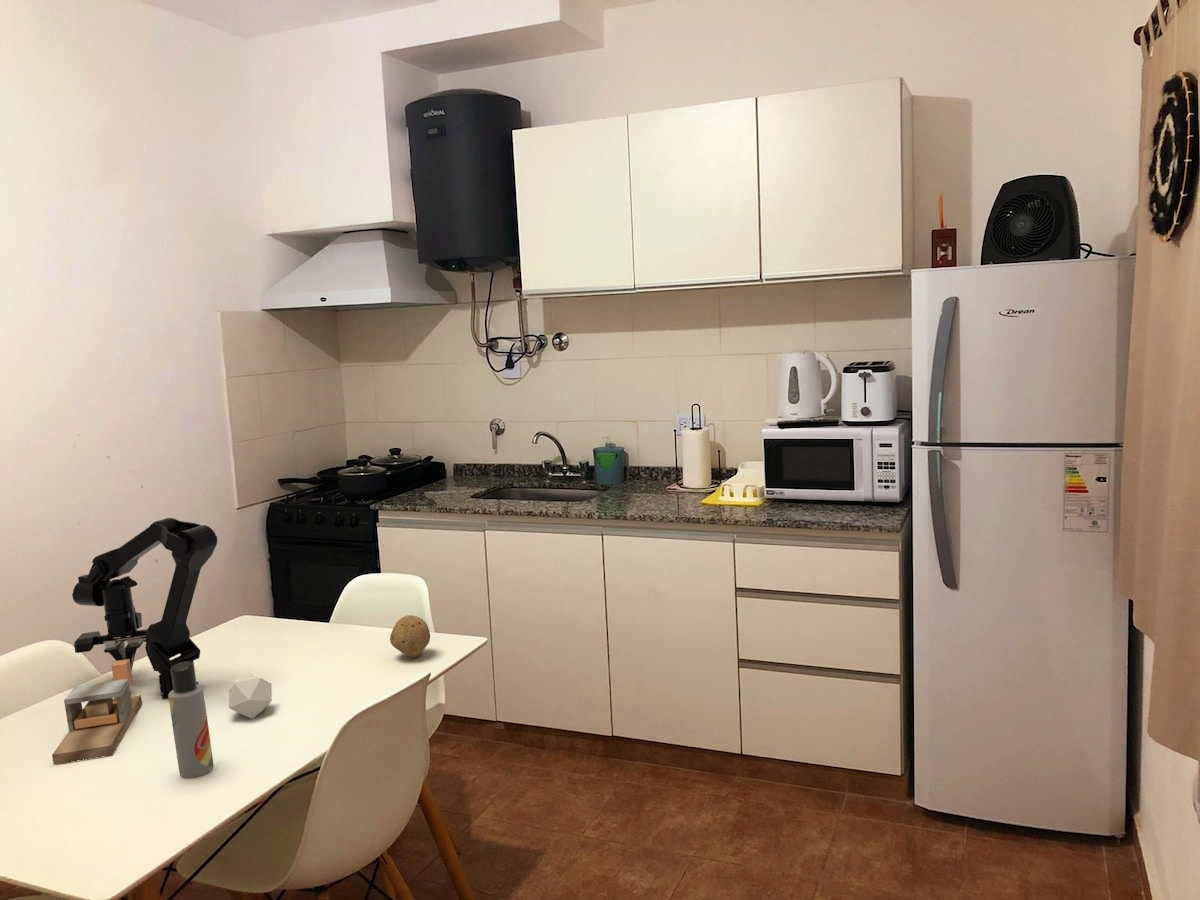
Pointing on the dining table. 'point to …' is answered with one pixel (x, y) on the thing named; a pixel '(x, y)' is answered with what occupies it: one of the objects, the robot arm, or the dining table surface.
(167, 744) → the dining table surface
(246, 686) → the die
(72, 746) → the tunnel
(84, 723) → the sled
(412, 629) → the brown round lump
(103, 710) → the birch block
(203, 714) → the lotion bottle
